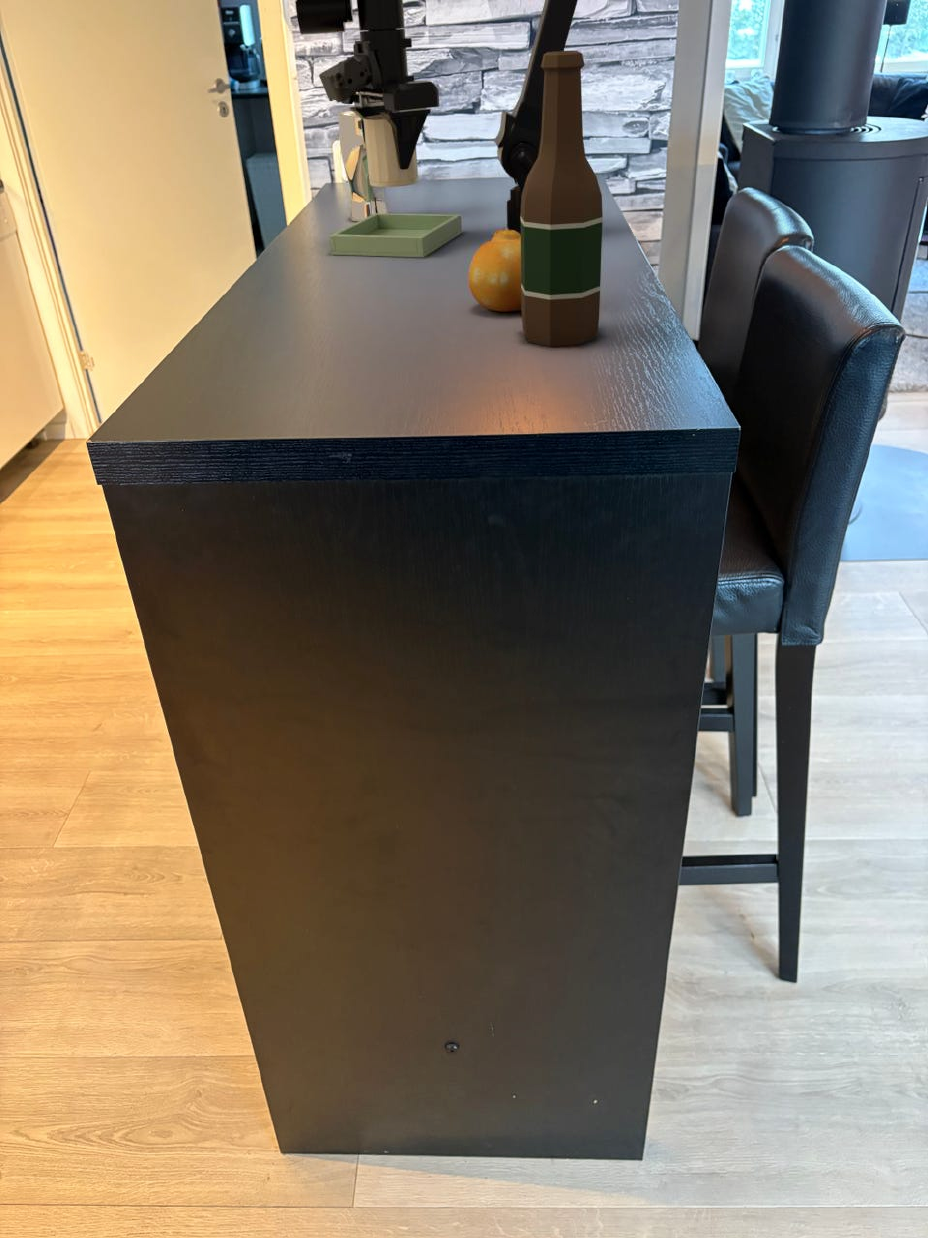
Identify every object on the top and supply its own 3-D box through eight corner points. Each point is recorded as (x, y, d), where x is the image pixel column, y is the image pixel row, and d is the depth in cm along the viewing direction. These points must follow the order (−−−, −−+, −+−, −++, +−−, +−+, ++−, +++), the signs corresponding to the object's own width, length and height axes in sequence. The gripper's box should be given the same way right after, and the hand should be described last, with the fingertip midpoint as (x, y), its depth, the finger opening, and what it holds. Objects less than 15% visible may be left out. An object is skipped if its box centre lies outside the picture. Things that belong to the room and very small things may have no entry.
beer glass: (385, 222, 145) (375, 113, 136) (342, 222, 146) (330, 114, 138) (396, 213, 150) (388, 108, 142) (355, 214, 152) (344, 109, 143)
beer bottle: (606, 326, 94) (617, 47, 81) (589, 349, 88) (598, 52, 74) (532, 322, 96) (530, 50, 83) (510, 345, 90) (505, 55, 77)
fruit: (496, 269, 106) (482, 212, 99) (562, 281, 103) (552, 223, 96) (466, 323, 103) (450, 268, 96) (533, 337, 100) (521, 281, 93)
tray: (462, 232, 135) (461, 214, 134) (423, 257, 123) (422, 237, 122) (376, 230, 139) (375, 213, 138) (330, 254, 127) (328, 235, 126)
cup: (425, 178, 128) (421, 113, 124) (407, 187, 123) (402, 118, 119) (381, 178, 130) (375, 114, 126) (362, 186, 125) (355, 119, 121)
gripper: (296, 34, 121) (313, 166, 130) (350, 33, 107) (365, 181, 116) (375, 28, 125) (386, 157, 134) (437, 27, 111) (445, 171, 120)
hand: (393, 166), depth 126 cm, fingers closed on cup, 6 cm apart
